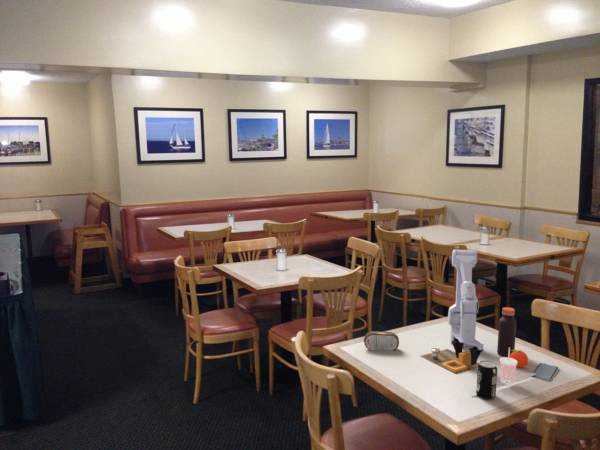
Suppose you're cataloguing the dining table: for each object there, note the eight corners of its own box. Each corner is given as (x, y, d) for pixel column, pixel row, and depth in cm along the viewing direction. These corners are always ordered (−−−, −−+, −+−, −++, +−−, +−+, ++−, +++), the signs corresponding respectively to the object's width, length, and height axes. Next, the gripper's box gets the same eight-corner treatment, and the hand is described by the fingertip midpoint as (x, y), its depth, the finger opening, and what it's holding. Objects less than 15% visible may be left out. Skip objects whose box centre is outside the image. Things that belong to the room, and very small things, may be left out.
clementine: (503, 366, 210) (504, 349, 209) (510, 361, 215) (511, 345, 214) (523, 372, 205) (525, 355, 204) (530, 367, 210) (531, 350, 209)
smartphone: (529, 376, 201) (539, 362, 213) (529, 378, 201) (539, 364, 213) (550, 381, 197) (559, 367, 209) (550, 383, 197) (559, 369, 209)
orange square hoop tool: (462, 360, 214) (462, 348, 213) (475, 366, 208) (476, 354, 207) (441, 366, 208) (442, 354, 208) (454, 372, 202) (455, 360, 202)
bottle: (496, 355, 221) (499, 310, 218) (497, 350, 227) (500, 305, 224) (514, 358, 219) (517, 312, 216) (514, 352, 225) (517, 307, 222)
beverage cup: (514, 388, 191) (516, 352, 189) (496, 384, 194) (499, 348, 192) (517, 382, 196) (519, 346, 194) (500, 378, 200) (502, 343, 197)
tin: (398, 350, 227) (399, 331, 226) (399, 353, 224) (399, 334, 222) (363, 348, 228) (364, 330, 227) (363, 351, 225) (364, 332, 224)
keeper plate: (447, 350, 226) (447, 348, 226) (484, 367, 209) (484, 365, 209) (419, 357, 218) (419, 356, 218) (455, 375, 201) (455, 373, 201)
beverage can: (473, 391, 188) (474, 360, 187) (490, 391, 189) (492, 359, 187) (480, 400, 182) (482, 367, 180) (499, 400, 182) (501, 367, 181)
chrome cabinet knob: (435, 356, 218) (435, 347, 218) (441, 359, 215) (441, 350, 215) (429, 357, 217) (429, 348, 216) (435, 360, 214) (435, 351, 213)
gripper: (447, 324, 212) (445, 356, 214) (475, 335, 200) (473, 369, 202) (459, 322, 216) (457, 353, 218) (488, 332, 203) (485, 365, 205)
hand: (466, 361), depth 210 cm, fingers open, 7 cm apart
